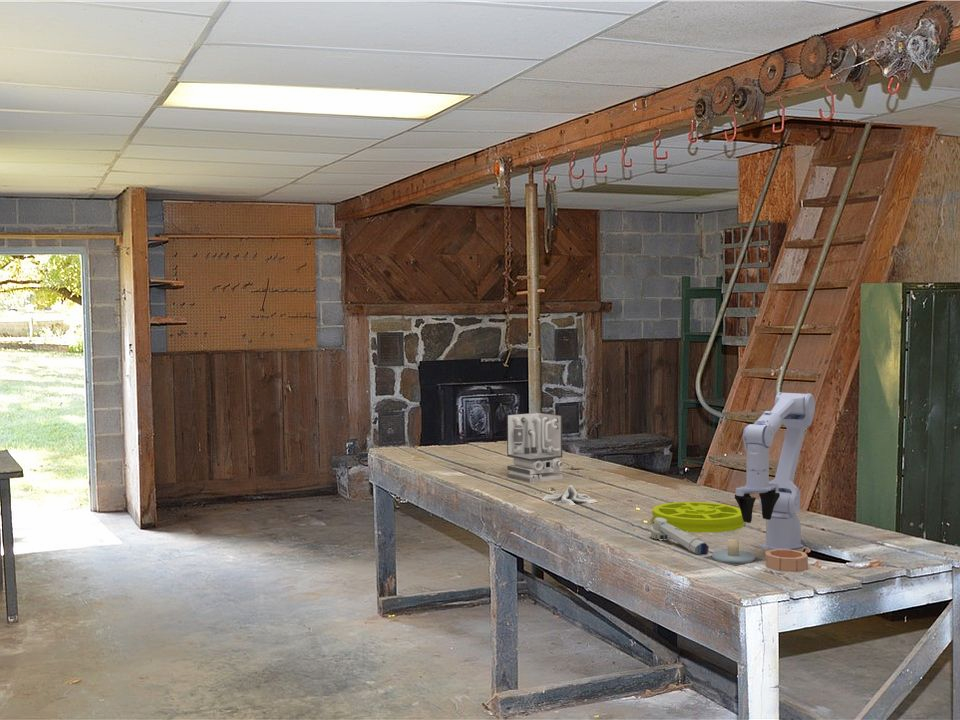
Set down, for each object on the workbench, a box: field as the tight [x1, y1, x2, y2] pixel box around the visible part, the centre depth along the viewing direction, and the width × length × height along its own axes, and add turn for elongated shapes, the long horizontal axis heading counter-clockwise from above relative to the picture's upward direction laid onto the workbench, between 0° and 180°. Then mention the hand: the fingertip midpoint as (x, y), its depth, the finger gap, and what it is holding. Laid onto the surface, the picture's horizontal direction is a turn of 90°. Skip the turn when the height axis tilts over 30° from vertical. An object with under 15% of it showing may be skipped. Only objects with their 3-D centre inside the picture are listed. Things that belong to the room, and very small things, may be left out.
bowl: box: [764, 549, 809, 572], centre depth 251 cm, size 10×10×4 cm
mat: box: [703, 555, 764, 567], centre depth 259 cm, size 11×11×1 cm
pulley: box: [651, 501, 745, 533], centre depth 306 cm, size 28×28×5 cm
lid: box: [711, 538, 756, 565], centre depth 259 cm, size 11×11×5 cm
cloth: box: [541, 484, 598, 506], centre depth 341 cm, size 22×19×6 cm
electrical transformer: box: [506, 412, 563, 484], centre depth 389 cm, size 16×19×25 cm
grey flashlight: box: [649, 517, 709, 556], centre depth 276 cm, size 5×7×25 cm
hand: (757, 520), depth 261 cm, fingers open, 7 cm apart
